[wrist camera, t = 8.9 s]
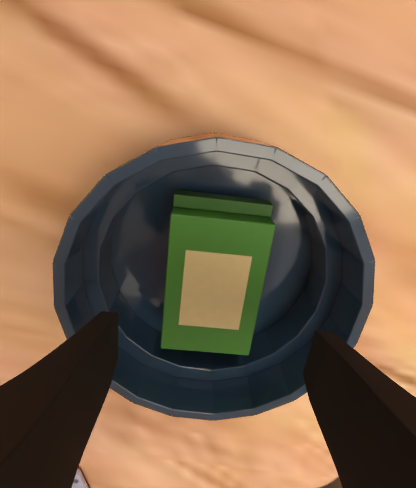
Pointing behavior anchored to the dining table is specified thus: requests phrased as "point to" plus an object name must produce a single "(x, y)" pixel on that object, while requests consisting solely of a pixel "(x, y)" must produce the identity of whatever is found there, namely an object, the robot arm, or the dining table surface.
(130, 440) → the dining table surface
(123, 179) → the bowl
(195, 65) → the dining table surface
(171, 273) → the green box
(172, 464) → the dining table surface
